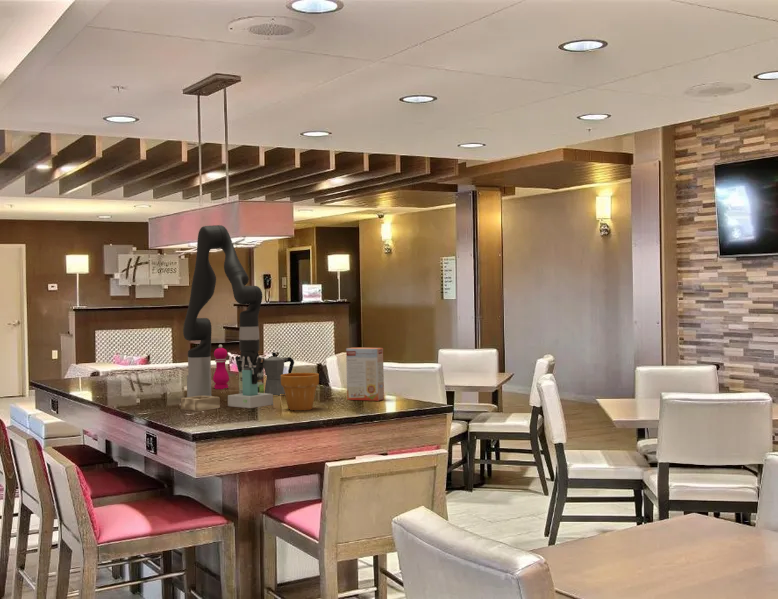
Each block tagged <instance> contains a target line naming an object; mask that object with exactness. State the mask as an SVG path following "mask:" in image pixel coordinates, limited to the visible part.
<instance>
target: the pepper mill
mask: <svg viewBox="0 0 778 599" xmlns="http://www.w3.org/2000/svg"><path fill="white" fill-rule="evenodd" d="M213 356H214V358H215V359H214V360H215V361H214V362H215V363H216V364H215V365H216V367H215V370H214V373H213V377H212V381H213V382H214V385H213V389H214V388H215V389H214V390H225V389H224V388H228V389H229V384H228V383H229V381H230V376H229V373H228V371H227V368H226V363H227V356H228V351H227V349H226V348H224V347H223V345H222V344H219V345H218V348H216V349H215V350H214V352H213Z"/></svg>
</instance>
